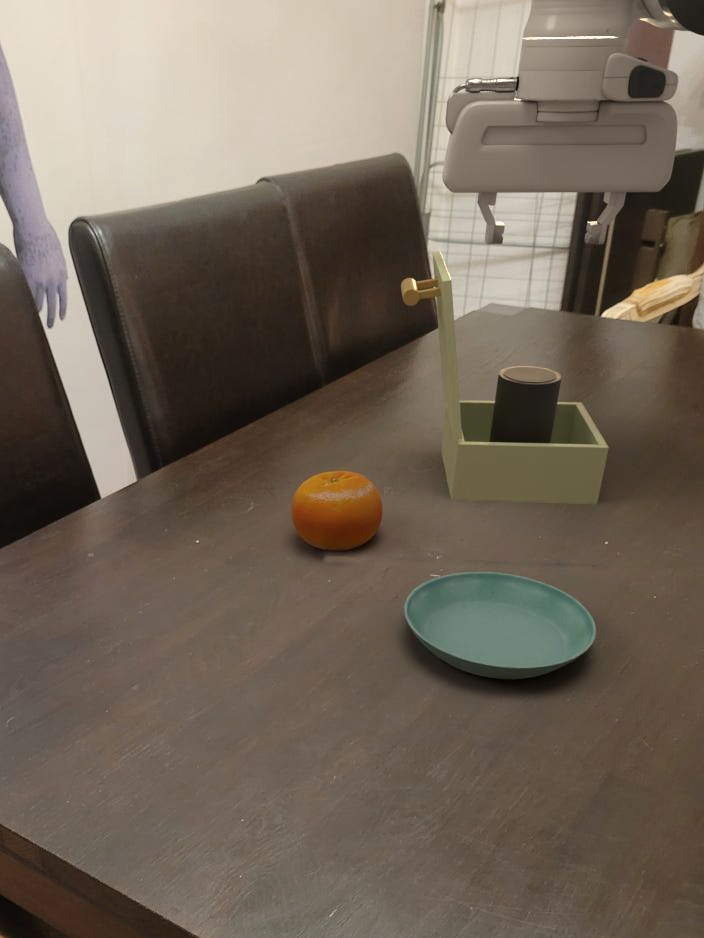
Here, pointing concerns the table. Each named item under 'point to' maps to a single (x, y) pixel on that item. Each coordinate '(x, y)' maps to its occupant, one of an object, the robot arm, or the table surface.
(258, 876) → the table surface
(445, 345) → the chest lid
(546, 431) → the black cup
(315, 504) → the fruit
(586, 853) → the table surface
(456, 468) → the chest
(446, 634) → the saucer
